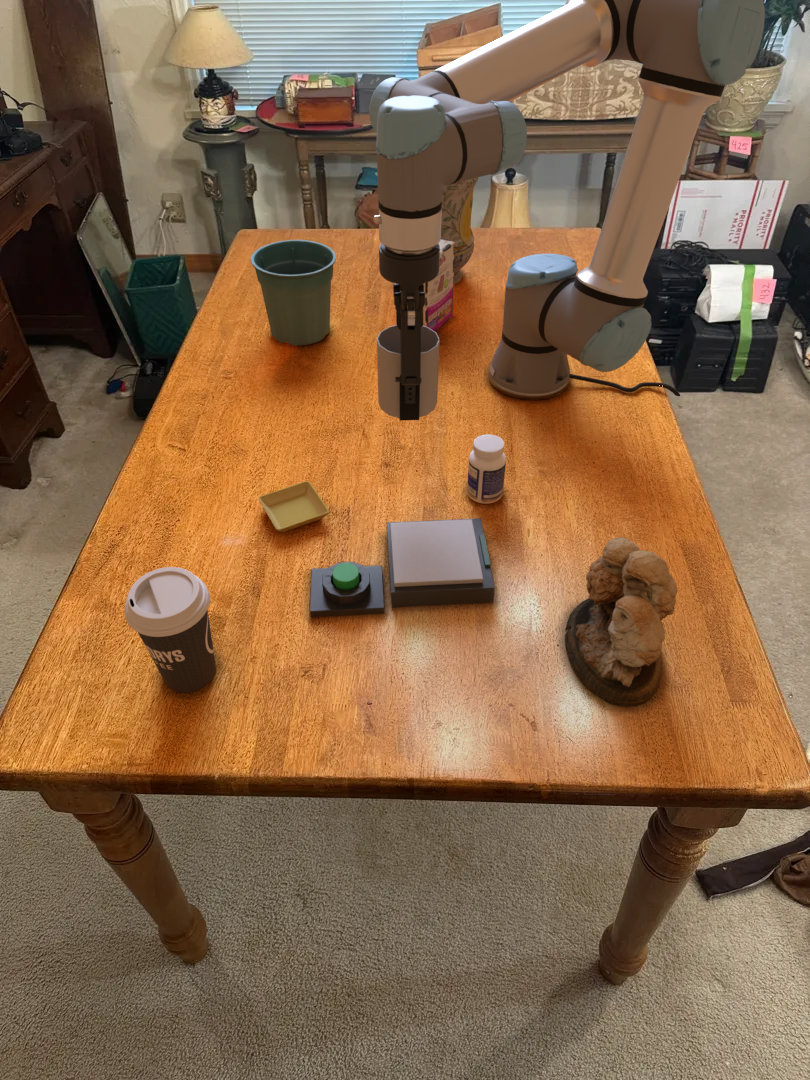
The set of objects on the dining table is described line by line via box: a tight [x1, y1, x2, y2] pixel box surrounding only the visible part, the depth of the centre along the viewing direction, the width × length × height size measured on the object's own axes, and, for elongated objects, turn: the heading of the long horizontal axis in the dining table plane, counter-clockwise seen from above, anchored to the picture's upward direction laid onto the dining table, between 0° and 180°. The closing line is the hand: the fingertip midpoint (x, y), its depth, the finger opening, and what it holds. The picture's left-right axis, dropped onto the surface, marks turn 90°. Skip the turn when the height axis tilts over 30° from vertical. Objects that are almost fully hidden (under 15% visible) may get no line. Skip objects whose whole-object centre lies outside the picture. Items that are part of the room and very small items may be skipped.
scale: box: [386, 517, 496, 608], centre depth 108 cm, size 14×14×4 cm
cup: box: [376, 324, 441, 419], centre depth 105 cm, size 8×8×10 cm
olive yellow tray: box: [258, 480, 330, 533], centre depth 117 cm, size 9×9×2 cm
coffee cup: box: [124, 566, 217, 694], centre depth 91 cm, size 10×10×15 cm
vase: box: [441, 177, 479, 285], centre depth 167 cm, size 18×18×30 cm
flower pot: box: [250, 239, 337, 346], centre depth 153 cm, size 16×16×16 cm
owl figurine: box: [564, 536, 679, 707], centre depth 93 cm, size 18×12×17 cm, turn 6°
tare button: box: [332, 563, 359, 590], centre depth 103 cm, size 4×4×2 cm
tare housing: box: [309, 561, 385, 618], centre depth 105 cm, size 10×8×3 cm
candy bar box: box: [423, 239, 455, 332], centre depth 155 cm, size 11×5×16 cm, turn 148°
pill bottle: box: [466, 433, 507, 505], centre depth 118 cm, size 6×6×10 cm
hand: (408, 400), depth 109 cm, fingers closed on cup, 8 cm apart
